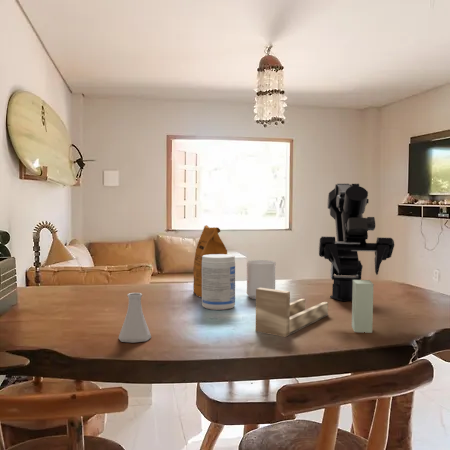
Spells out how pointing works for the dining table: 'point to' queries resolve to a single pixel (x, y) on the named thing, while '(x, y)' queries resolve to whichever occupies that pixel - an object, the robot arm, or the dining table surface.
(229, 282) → the supplement tub
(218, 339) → the dining table surface
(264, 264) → the mug
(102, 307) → the dining table surface
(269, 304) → the track
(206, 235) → the coffee package
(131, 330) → the flask
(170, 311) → the dining table surface
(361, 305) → the pale green block
